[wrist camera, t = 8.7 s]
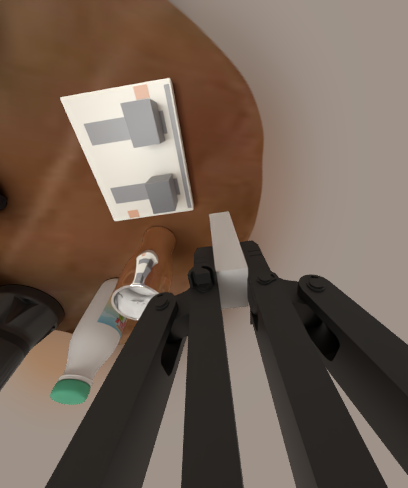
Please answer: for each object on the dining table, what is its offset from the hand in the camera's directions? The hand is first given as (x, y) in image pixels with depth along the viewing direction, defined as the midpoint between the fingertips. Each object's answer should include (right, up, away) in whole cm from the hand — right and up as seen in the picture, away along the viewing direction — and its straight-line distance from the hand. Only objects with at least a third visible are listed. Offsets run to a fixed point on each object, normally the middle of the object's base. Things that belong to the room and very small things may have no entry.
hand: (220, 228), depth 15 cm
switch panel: (-11, +11, +13) cm, 20 cm away
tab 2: (-7, +7, +12) cm, 16 cm away
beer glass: (-10, 0, +21) cm, 23 cm away
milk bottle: (-20, -12, +28) cm, 36 cm away
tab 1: (-8, +14, +8) cm, 18 cm away
